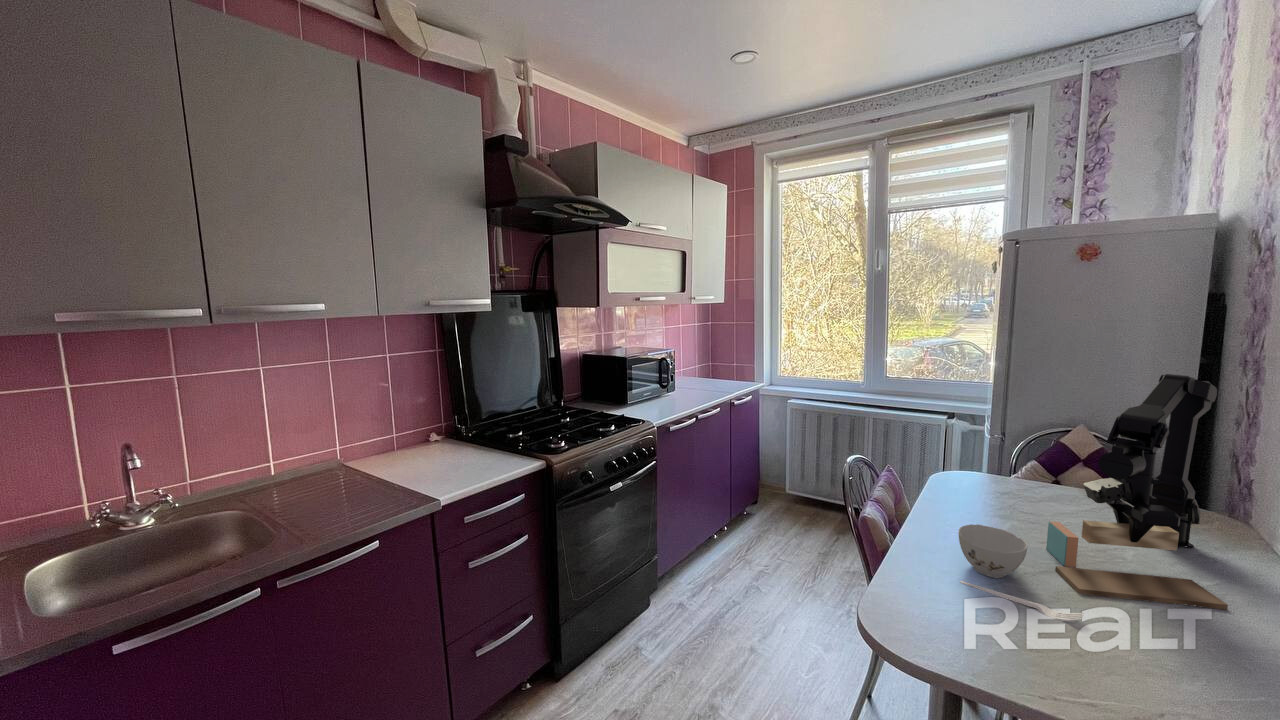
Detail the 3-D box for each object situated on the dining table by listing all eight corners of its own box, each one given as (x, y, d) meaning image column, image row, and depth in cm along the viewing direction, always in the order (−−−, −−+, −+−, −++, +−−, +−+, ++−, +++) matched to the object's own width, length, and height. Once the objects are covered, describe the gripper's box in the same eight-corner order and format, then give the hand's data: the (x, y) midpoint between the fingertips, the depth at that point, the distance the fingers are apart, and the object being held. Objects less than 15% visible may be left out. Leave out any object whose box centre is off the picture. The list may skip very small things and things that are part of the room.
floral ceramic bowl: (1007, 593, 104) (1010, 556, 103) (944, 566, 115) (946, 532, 114) (1041, 572, 112) (1044, 537, 111) (979, 548, 123) (981, 517, 122)
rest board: (1190, 584, 107) (1191, 579, 106) (1227, 609, 98) (1227, 604, 98) (1055, 570, 113) (1055, 566, 113) (1078, 593, 104) (1078, 588, 104)
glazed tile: (1056, 550, 121) (1059, 522, 121) (1075, 567, 114) (1078, 537, 113) (1045, 549, 122) (1048, 521, 121) (1064, 566, 114) (1066, 536, 113)
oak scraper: (1166, 544, 114) (1168, 526, 113) (1177, 550, 111) (1179, 532, 110) (1081, 536, 118) (1083, 520, 117) (1089, 543, 115) (1090, 526, 114)
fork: (961, 581, 110) (962, 573, 110) (1083, 621, 96) (1084, 612, 96) (957, 587, 108) (957, 579, 108) (1081, 629, 94) (1081, 619, 93)
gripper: (1068, 455, 123) (1063, 517, 125) (1118, 483, 105) (1111, 555, 107) (1124, 458, 120) (1118, 521, 122) (1186, 487, 102) (1177, 561, 104)
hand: (1128, 538), depth 114 cm, fingers closed on oak scraper, 3 cm apart
